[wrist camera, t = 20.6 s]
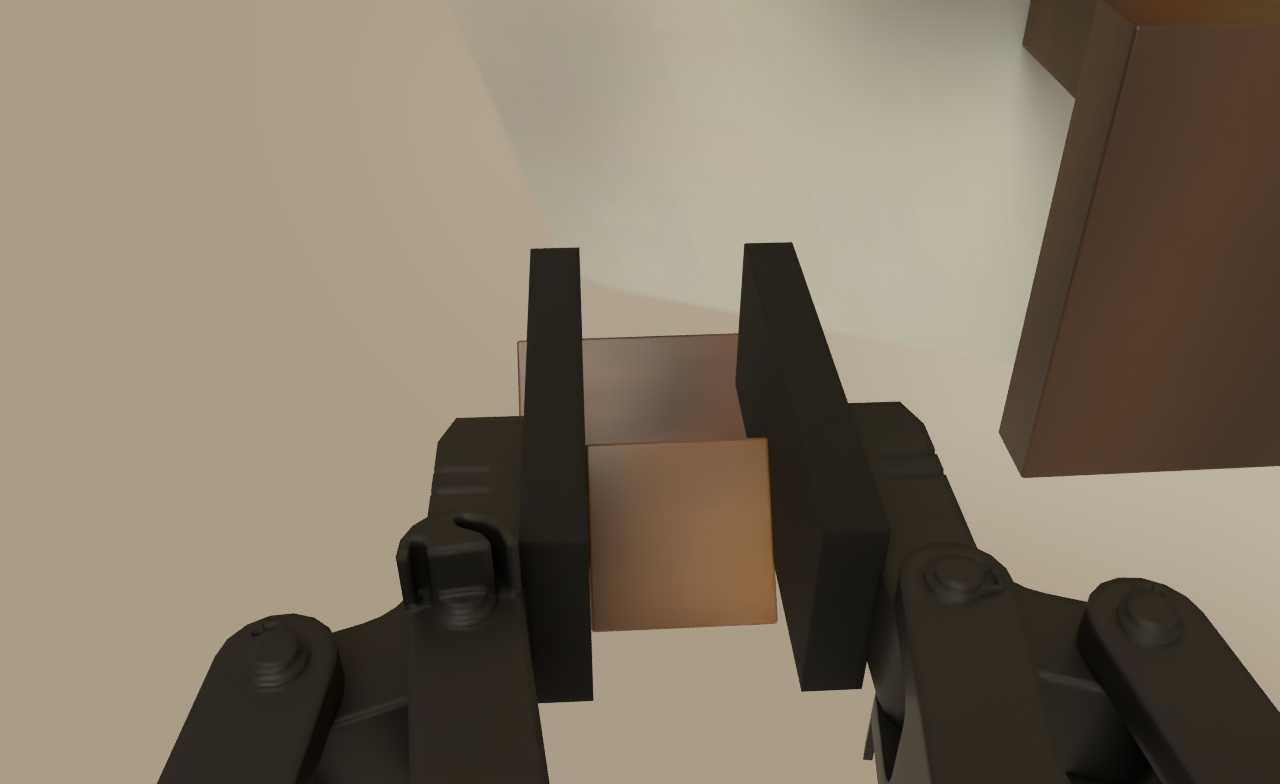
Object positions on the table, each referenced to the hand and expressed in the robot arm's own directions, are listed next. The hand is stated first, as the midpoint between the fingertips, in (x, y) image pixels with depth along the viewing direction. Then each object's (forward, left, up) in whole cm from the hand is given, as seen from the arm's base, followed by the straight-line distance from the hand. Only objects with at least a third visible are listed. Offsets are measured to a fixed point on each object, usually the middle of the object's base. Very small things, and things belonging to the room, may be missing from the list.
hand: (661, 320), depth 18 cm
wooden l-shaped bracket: (+12, -11, -37) cm, 40 cm away
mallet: (-4, -7, -2) cm, 9 cm away
